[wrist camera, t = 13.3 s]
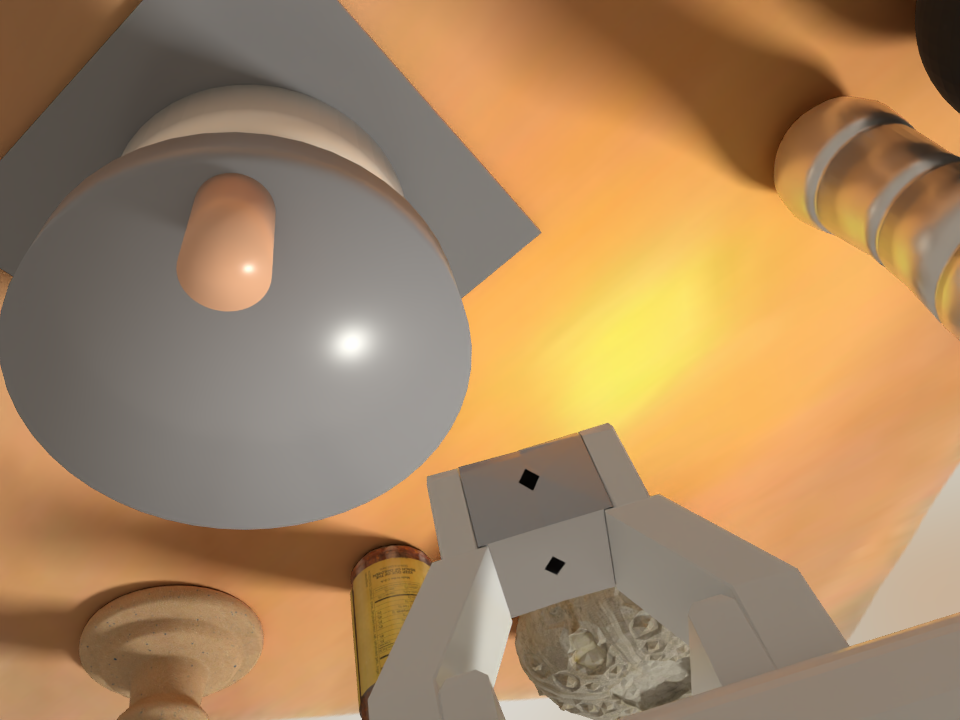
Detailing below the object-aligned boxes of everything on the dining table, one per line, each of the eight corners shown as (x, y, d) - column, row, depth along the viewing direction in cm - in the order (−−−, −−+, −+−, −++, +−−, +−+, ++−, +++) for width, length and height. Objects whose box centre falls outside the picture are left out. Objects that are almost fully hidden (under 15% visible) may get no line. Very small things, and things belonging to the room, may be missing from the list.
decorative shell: (473, 637, 60) (499, 759, 52) (549, 485, 51) (595, 605, 43) (654, 640, 66) (702, 750, 59) (752, 504, 57) (825, 613, 49)
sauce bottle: (417, 598, 56) (463, 900, 40) (337, 590, 53) (353, 909, 38) (448, 541, 53) (511, 845, 37) (365, 530, 50) (395, 851, 34)
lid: (446, 468, 35) (473, 586, 29) (80, 495, 31) (35, 634, 26) (475, 137, 25) (521, 220, 20) (-39, 125, 22) (-148, 221, 17)
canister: (241, -110, 28) (219, -88, 20) (539, 229, 39) (595, 323, 32) (-58, 225, 33) (-163, 342, 25) (282, 441, 44) (278, 565, 37)
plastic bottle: (751, 215, 41) (1032, 457, 25) (765, 95, 37) (1110, 295, 21) (857, 193, 42) (1195, 416, 26) (882, 72, 38) (1302, 250, 22)
